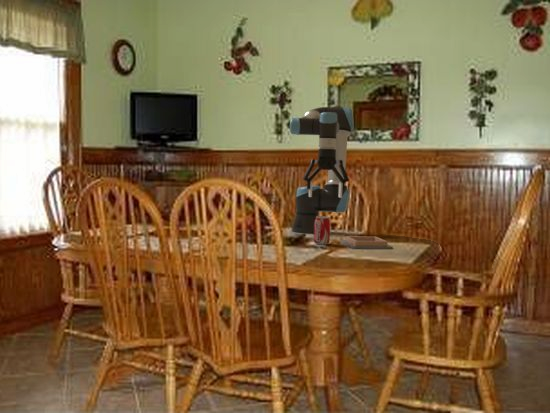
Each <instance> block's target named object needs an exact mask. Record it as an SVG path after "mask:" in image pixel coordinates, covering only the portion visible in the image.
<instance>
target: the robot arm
mask: <svg viewBox="0 0 550 413" xmlns="http://www.w3.org/2000/svg"><path fill="white" fill-rule="evenodd" d="M353 112H354V111H353V109H352V108H351V107H343V106H342V107H338V106H337V107H336V106H335V107H332V106H330V107H329V106H328V107H327V106H321V107H316V108H313V109H310V110H307V112H305V114H304V115H303V116H302V117H292V118H291V119H290V122H289V132H290V134H291V135H297V136H305V135H307V136H319V137H318V158H317V159H313V158H312V159H311V160H310V164H309V166H308V167H307V170H306V171H305V173H304V175H303V178H302V181H305V182H306V186H300V187H298V188H297V189H296V195H295V217H294V220H293V222H292V225H291V232H295V233H303V234H314V222H315V219H316V216H320V215H319V212H326V213H327V212H328V213H336V214H338V213H346V211H347V209H348V207H349V203H350V202H349V201H350V197H351V196H350V194H351V190H350V189H348V185H347V184H346V183H347V182H349V181H350V178H349V176H348V174H347V171H346V167H347V150H348V138H349V137H350V136H351V133H352V132H354V130H355V126H354V125H355V123H354V122H355V121H354V114H353ZM316 164H317V165H318V166H317V167H316V168H315V169H314V170H313V168H314V166H315V165H316ZM322 170H323V171H327V172H328V173H327V182H326V183H325V184H324V186H323V187H324V188H321V186H320V185H313V181H312V180H313V179H314V178H315V177H316V176H317V175H318V173H319V172H320V171H322ZM312 171H313V172H312ZM311 172H312V173H311Z"/></svg>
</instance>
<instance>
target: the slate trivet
mask: <svg viewBox="0 0 550 413" xmlns="http://www.w3.org/2000/svg"><path fill="white" fill-rule="evenodd" d="M339 242H341V243H340V244H342V245H344V246H346V247H348V248H349V249H352V250H393V249H394V246H392V245H389V244H388V243H389V242H388V240H385V239H382V238H380V237H378V236H361V235H360V236H357V235H356V236H352V235H349V236H348V235H346V236H345V237H344V239H339Z"/></svg>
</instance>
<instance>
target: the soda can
mask: <svg viewBox="0 0 550 413" xmlns="http://www.w3.org/2000/svg"><path fill="white" fill-rule="evenodd" d="M330 238H331V220H330V217H329V216H325V215H319V216H316V219H315V222H314V233H313V242H314V244H316V245H319V246H326V245H328V244H329V243H330V240H331V239H330Z"/></svg>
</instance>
